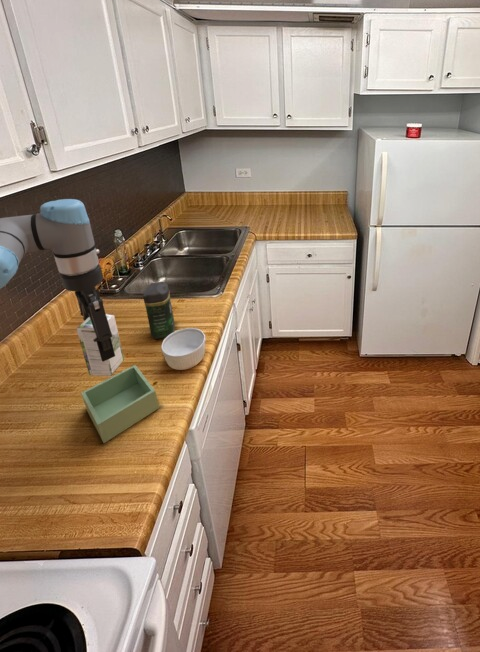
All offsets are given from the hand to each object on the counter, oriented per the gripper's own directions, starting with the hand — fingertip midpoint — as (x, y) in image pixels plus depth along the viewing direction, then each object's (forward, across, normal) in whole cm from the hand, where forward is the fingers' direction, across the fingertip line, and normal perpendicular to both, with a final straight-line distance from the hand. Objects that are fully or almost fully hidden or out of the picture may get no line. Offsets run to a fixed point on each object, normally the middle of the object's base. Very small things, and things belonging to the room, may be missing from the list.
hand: (102, 349), depth 82 cm
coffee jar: (+20, +23, -23) cm, 38 cm away
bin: (+20, -1, -1) cm, 20 cm away
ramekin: (+20, +5, -22) cm, 30 cm away
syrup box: (+6, 0, 0) cm, 6 cm away
